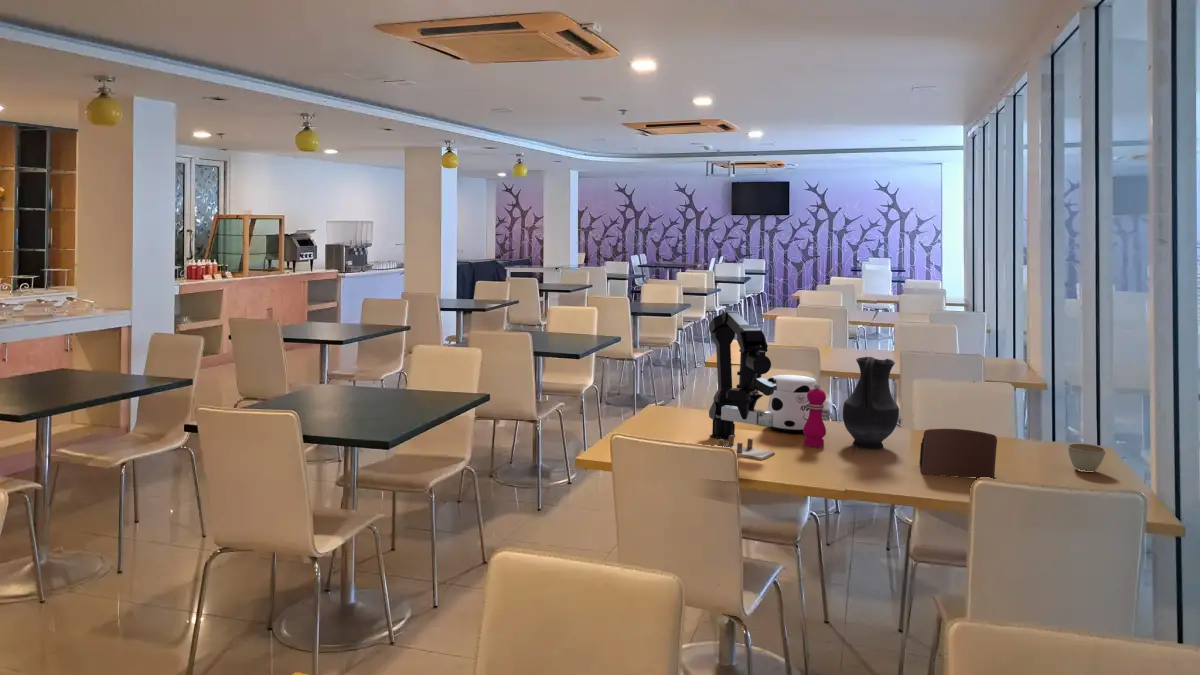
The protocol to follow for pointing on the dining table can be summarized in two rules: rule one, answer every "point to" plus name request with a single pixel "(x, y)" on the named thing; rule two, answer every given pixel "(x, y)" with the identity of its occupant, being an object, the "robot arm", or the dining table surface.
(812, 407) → the pepper mill
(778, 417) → the milk container
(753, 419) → the round-headed grey paddle
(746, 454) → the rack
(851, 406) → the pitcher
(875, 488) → the dining table surface
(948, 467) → the letter holder
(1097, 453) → the grey bowl
